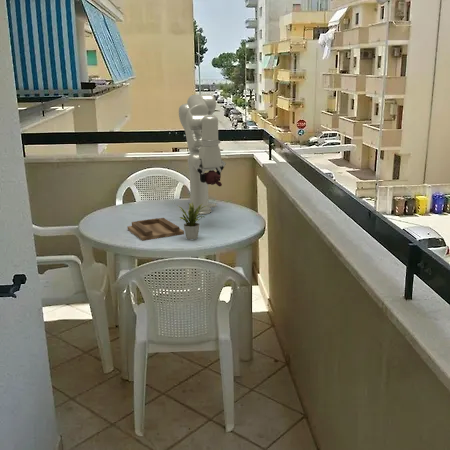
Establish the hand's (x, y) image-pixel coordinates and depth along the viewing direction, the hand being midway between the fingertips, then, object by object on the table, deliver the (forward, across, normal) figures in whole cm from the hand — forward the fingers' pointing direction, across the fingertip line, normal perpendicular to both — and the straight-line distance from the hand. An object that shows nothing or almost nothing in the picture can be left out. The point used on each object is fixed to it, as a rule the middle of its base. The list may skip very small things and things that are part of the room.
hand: (210, 181), depth 239 cm
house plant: (+22, +16, +14) cm, 31 cm away
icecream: (+2, 0, +1) cm, 2 cm away
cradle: (+22, +27, -4) cm, 35 cm away
